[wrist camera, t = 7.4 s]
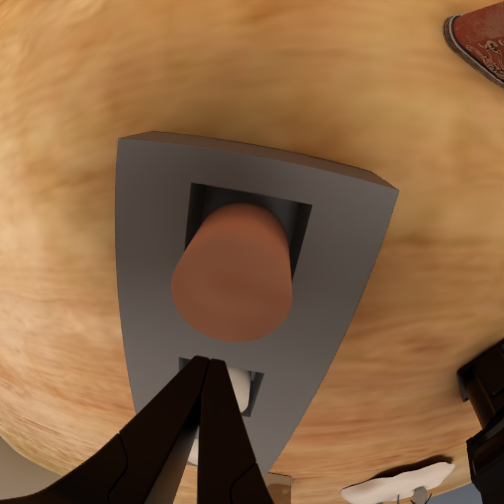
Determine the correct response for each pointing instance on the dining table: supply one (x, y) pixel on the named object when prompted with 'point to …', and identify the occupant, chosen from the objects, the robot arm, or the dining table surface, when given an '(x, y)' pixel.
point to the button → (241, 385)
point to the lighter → (479, 40)
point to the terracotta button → (235, 274)
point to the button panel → (300, 253)
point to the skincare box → (279, 488)
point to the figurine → (399, 486)
